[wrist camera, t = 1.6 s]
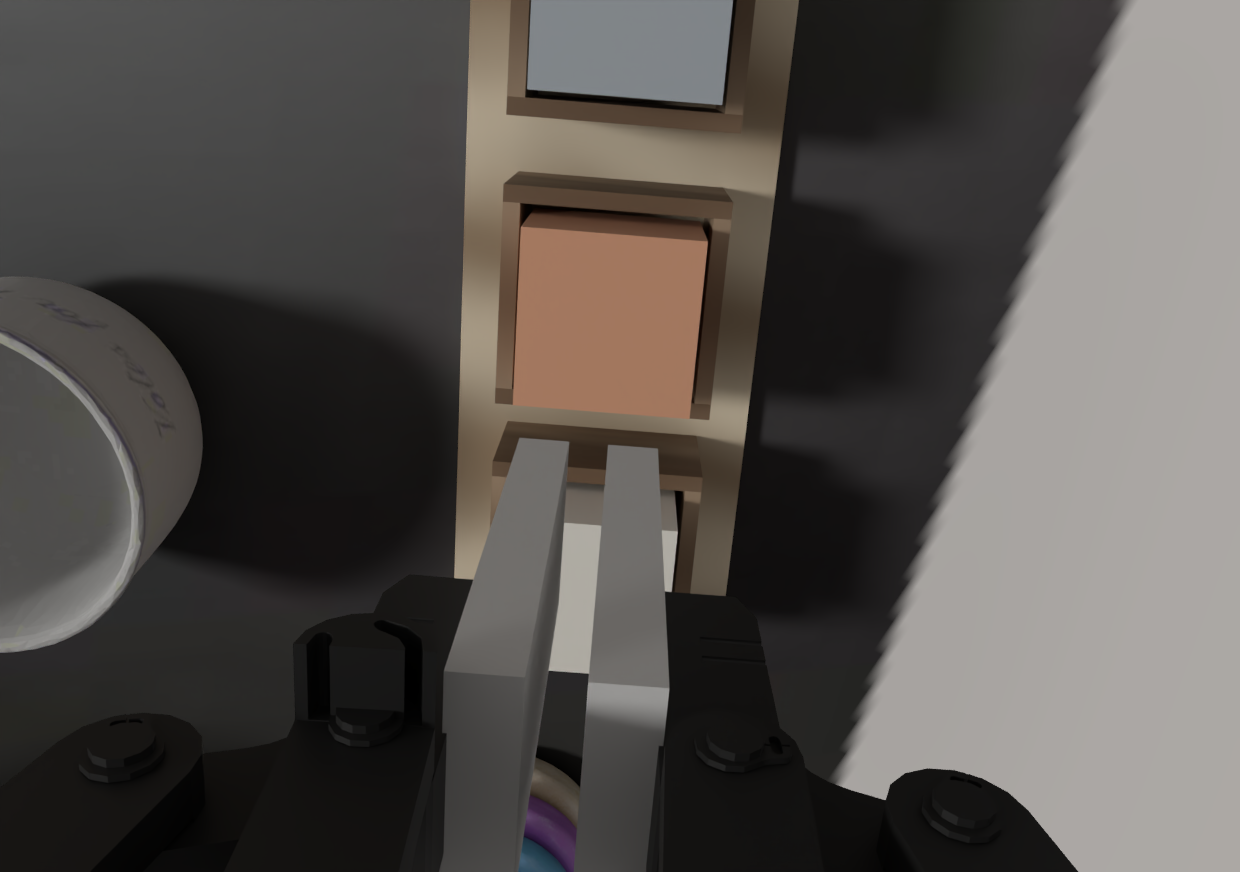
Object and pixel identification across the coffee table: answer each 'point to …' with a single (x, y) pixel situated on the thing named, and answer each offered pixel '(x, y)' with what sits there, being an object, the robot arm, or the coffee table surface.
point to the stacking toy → (550, 821)
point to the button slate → (631, 48)
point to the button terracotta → (608, 312)
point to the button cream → (592, 571)
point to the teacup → (83, 456)
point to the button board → (636, 186)
